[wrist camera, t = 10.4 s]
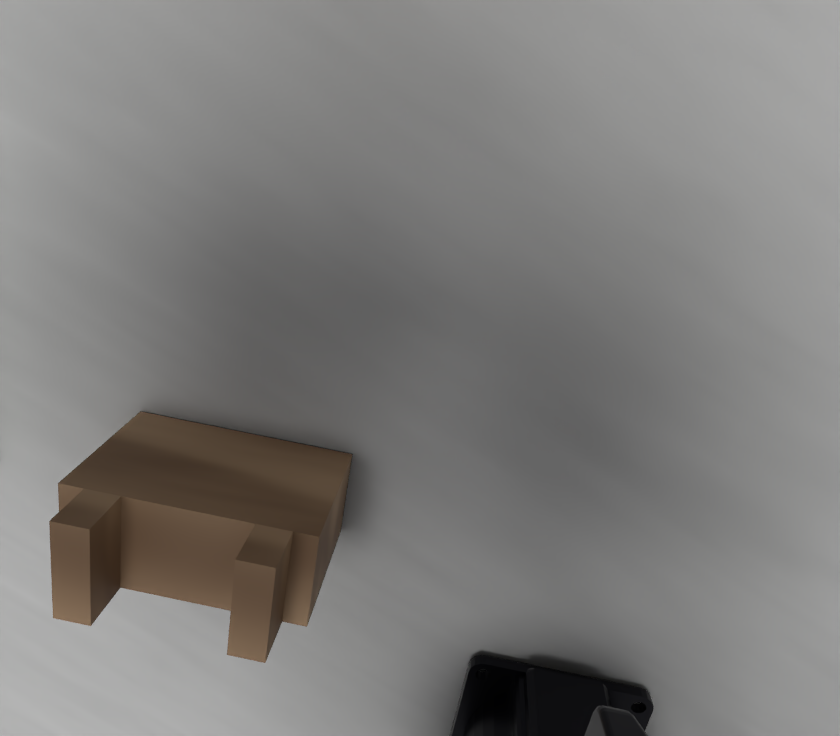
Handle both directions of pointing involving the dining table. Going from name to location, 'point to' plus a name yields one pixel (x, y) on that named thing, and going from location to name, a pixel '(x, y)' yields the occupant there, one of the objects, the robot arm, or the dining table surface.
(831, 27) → the dining table surface
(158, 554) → the post
